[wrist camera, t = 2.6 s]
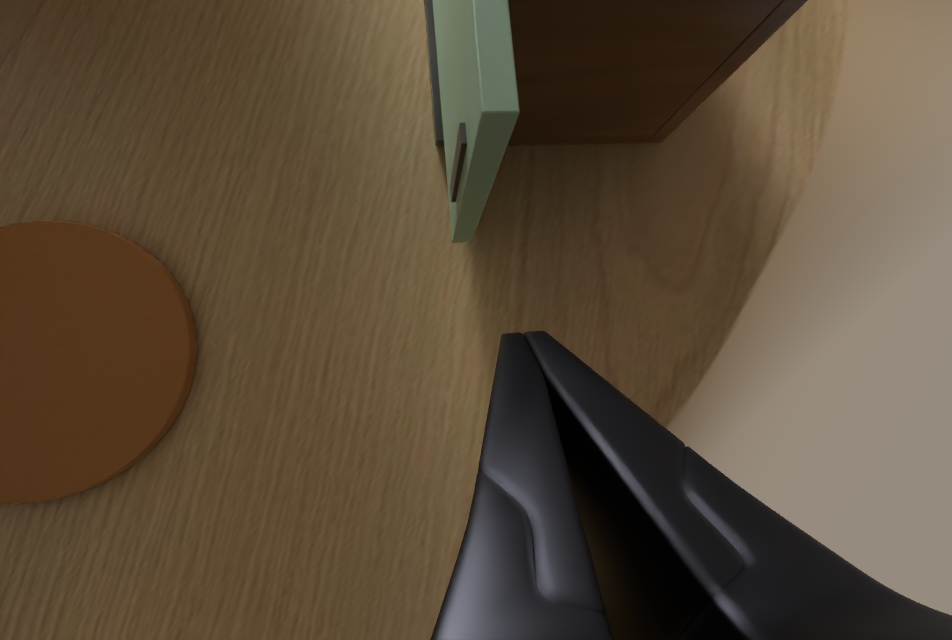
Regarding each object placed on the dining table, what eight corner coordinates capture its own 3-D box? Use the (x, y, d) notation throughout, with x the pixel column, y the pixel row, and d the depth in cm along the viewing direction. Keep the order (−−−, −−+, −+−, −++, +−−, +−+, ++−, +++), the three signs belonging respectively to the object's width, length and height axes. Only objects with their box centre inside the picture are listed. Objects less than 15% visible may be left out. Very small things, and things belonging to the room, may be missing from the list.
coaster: (254, 332, 17) (248, 331, 17) (58, 558, 16) (44, 565, 15) (46, 173, 17) (32, 166, 17) (-177, 384, 16) (-200, 384, 15)
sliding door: (471, 242, 18) (520, 112, 9) (448, 243, 18) (475, 113, 9) (450, -5, 19) (475, -325, 11) (428, -6, 19) (434, -330, 10)
